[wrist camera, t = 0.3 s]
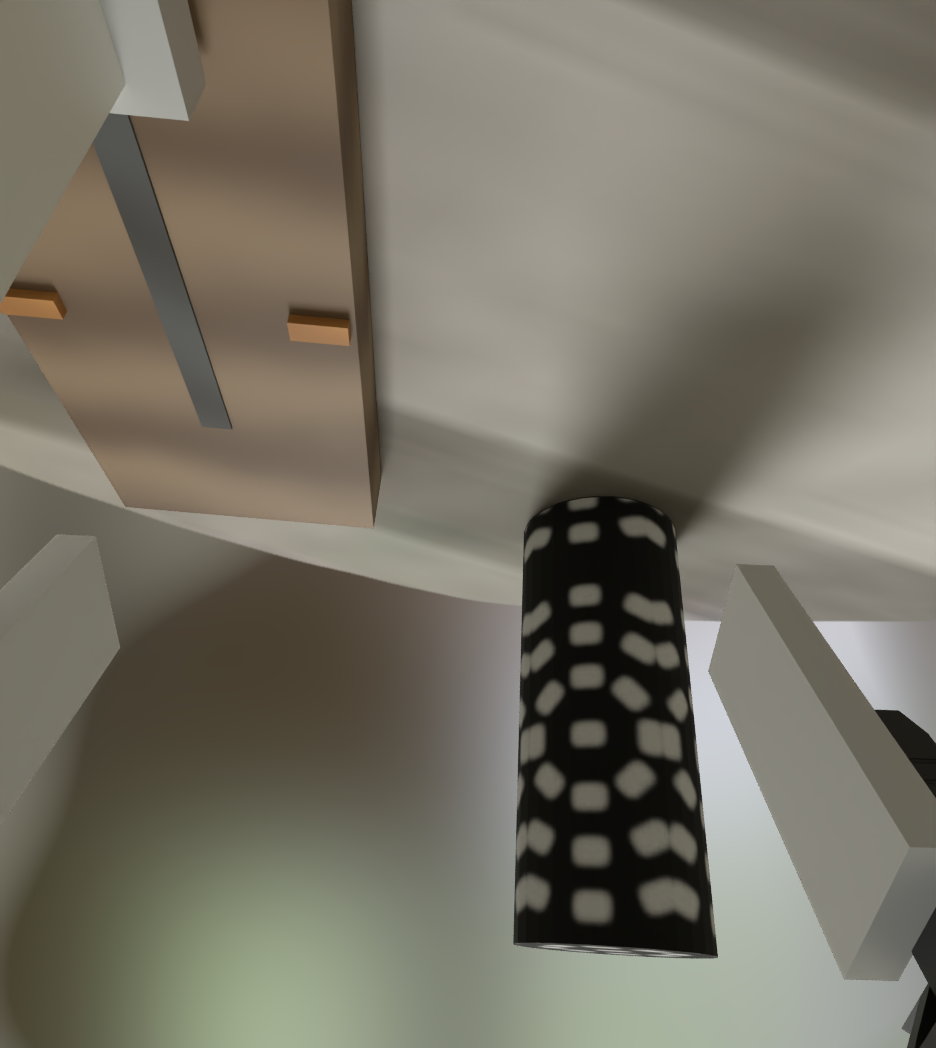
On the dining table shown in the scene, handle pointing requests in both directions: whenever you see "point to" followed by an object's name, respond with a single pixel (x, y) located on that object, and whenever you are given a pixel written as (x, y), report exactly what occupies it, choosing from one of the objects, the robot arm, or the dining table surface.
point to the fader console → (222, 282)
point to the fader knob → (79, 95)
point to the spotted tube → (608, 741)
